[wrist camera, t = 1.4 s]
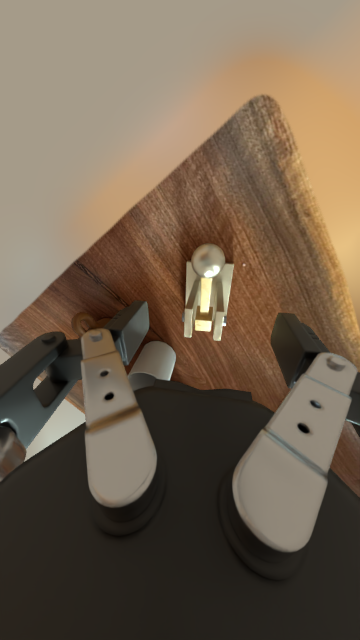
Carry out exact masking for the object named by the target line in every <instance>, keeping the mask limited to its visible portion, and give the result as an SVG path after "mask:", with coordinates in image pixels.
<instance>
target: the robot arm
mask: <svg viewBox="0 0 360 640" xmlns="http://www.w3.org/2000/svg"><path fill="white" fill-rule="evenodd" d="M148 329H149V314H148V304H147V302H146V301H134V302H133V303H132V304H131V305H130V306H129V307H126V308H124V309H122V310H120V311H119V312H118V313H117V314H116V315H115V316H114V317H113V319H111V320H110V321H109V322H108V323H107V324H106V325H105V326H104V327H103V328H98V329H93V330H90V331H88V332H86V333H85V334H83V335H82V337H81V339H74V340H66V337H65V334H64V333H62V332H50V333H46V334H43V335H41V336H39V337H37V338H36V339H34V340H33V341H32V342H30V343H29V344H28V345H26V346H25V347H24V348H22V349H21V350H20V351H19V352H17V353H16V354H15V355H13V356H12V357H11V358H9V359H8V360H7V361H5V362H4V363H3V364H1V365H0V640H360V498H359V497H358V496H357V495H356V494H355V493H354V492H353V491H352V490H351V489H350V488H349V487H348V486H347V485H346V484H345V483H344V482H343V481H342V480H341V479H340V478H339V477H338V476H337V475H336V474H335V473H334V472H333V471H332V470H331V468H330V464H331V461H332V458H333V455H334V452H335V449H336V446H337V443H338V440H339V437H340V434H341V431H342V428H343V425H344V422H345V420H346V421H349V422H351V423H352V425H353V426H354V428H355V430H356V432H357V434H358V435H359V437H360V373H359V372H357V368H356V366H355V365H354V364H353V363H352V362H350V361H349V360H347V359H346V358H344V357H341V356H339V355H336V354H333V353H330V352H329V350H328V349H327V348H326V347H325V345H324V344H323V343H322V342H321V340H319V338H318V337H317V335H315V333H314V331H313V330H312V329H311V328H310V327H308V326H307V325H305V324H304V323H301V322H300V321H299V320H298V318H297V317H296V316H295V314H289V313H279V314H278V315H277V318H276V321H275V325H274V328H273V331H272V335H271V346H272V348H273V351H274V353H275V356H276V358H277V361H278V363H279V366H280V369H281V371H282V374H283V376H284V379H285V381H286V384H287V386H288V388H292V389H291V391H290V392H289V394H288V395H287V396H286V398H285V399H284V401H283V402H282V404H281V405H280V406H279V408H278V409H277V411H276V412H275V413H274V412H273V411H271V410H270V409H268V408H267V407H265V406H263V405H262V404H259V403H257V402H255V401H252V396H251V392H246V391H239V390H232V389H214V390H199V389H196V388H193V387H191V386H188V385H185V384H183V383H180V382H176V381H169V380H162V379H156V380H155V382H154V385H153V386H147V387H143V388H139V389H137V390H134V391H133V390H132V387H131V384H130V381H129V378H128V376H127V373H126V370H125V367H124V365H127V366H128V365H129V363H130V361H131V359H132V358H133V356H134V354H135V353H136V351H137V349H138V347H139V346H140V344H141V342H142V341H143V339H144V337H145V335H146V334H147V332H148ZM44 370H45V372H46V374H47V377H46V378H45V379H44V380H43V381H42V382H41V383H40V384H39V385H38V386H37V388H35V389H34V390H33V383H34V381H35V379H36V378H37V377H38V376H39V375H40V374H41V373H42V372H43V371H44ZM81 379H82V383H83V395H84V406H85V417H86V422H84V423H83V424H81V425H80V426H78V427H77V428H75V429H74V430H72V431H71V432H69V433H68V434H66V435H65V436H63V437H61V438H60V439H58V440H57V441H55V442H54V443H52V444H51V445H49V446H48V447H46V448H45V449H44V450H42V451H40V452H39V453H37V454H36V455H34V456H33V457H31V458H30V459H28V460H27V461H25V462H24V460H25V457H26V449H27V448H28V446H29V445H30V443H31V442H32V441H33V439H34V438H35V437H36V435H37V434H38V433H39V432H40V430H41V429H42V428H43V426H44V425H45V423H46V422H47V421H48V419H49V418H50V417H51V415H52V414H53V413H54V411H55V410H56V409H57V407H58V406H59V405H60V403H61V402H62V401H63V399H64V398H65V397H66V395H67V394H68V393H69V391H70V390H71V389H72V387H73V386H74V385H75V383H76V382H77V381H78V380H81Z"/></svg>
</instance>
